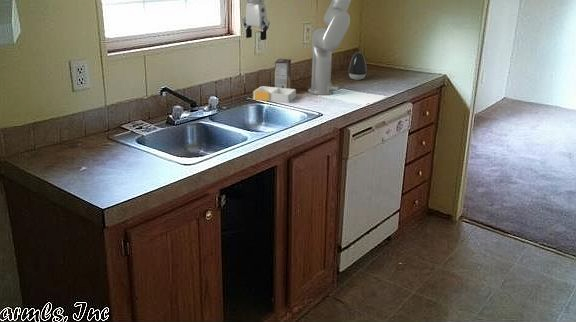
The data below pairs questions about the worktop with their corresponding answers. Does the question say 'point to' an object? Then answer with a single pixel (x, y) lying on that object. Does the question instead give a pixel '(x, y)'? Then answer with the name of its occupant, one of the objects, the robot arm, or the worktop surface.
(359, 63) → the black rounded egg shape
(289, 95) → the rack
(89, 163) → the worktop surface
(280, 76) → the coffee box
